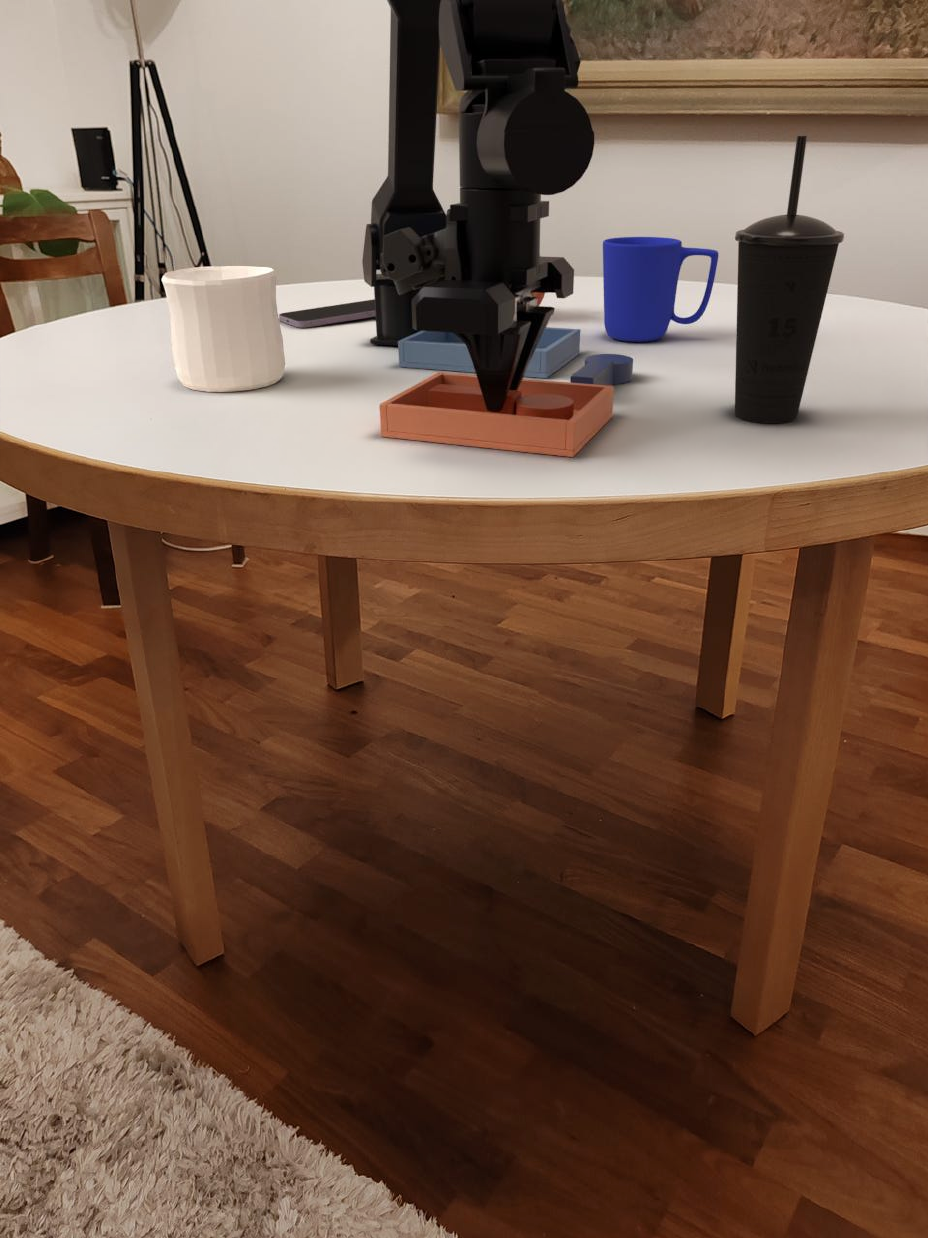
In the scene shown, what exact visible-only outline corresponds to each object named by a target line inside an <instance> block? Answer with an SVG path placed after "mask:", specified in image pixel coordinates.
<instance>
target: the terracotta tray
mask: <svg viewBox="0 0 928 1238" xmlns="http://www.w3.org/2000/svg"><path fill="white" fill-rule="evenodd" d="M439 384H444V385H456V386H468V387H480V385H479V382H478V379H477V375H476V374H469V373H468V374H467V373H457V372H444V371H438V372H436V373H435V374H433V375H430V376H429V377H426V378H425V379H424V380H422V381H420V382H418V383H416V384H414V385H412V386H411V387H408V388H407V389H405V390H403V391H401V392H400V393H397V394H396V395H394V396H392V397H391V398H388V399H387V400H385V401H383V402H381V403H379V419H380V420H379V421H380V434H381V435H380V436H381V437H383V438H391V439H392V438H393V439H399V440H400V439H401V440H410V441H419V442H429V443H439V444H445V445H446V444H447V445H456V446H466V447H473V448H485V449H494V450H502V451H511V452H512V451H513V452H520V453H521V452H522V453H531V454H540V455H551V456H559V457H567V458H574V457H575V456H576V455H577V454H578V453H579V452H580V451H581V450H582V449H583V448H584V446H586V445H587V444H588V442H589V441H590V440H592V439H593V438H594V436H596V434H597V433H598V432H599V431H600V430H601V429H602V428H603V427H604V426H605V425H606V424H607V423H608V422H609V421H610V420H611V419H612V418H613V411H614V410H613V409H614V407H613V406H614V392H615V386H614V385H611V386H606V385H594V384H582V383H570V381H569V382H568V381H555V380H543V379H542V380H541V379H531V378H523V379H522V381H521V383H520V386H519V388H518V390H517V391H521V397H524V396H529V395H537V394H552V395H560V396H565V397H568V398H571V399H572V400H573V401H574V414H573V417H572V418H571V419H570V420H569V421H568V420H563V419H552V418H541V417H531V416H520V415H509V414H499V413H488V412H477V411H467V410H456V409H445V408H435V407H430V399H429V390H430V389H432V388H433V387H435V386H437V385H439Z"/></svg>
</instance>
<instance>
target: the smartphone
mask: <svg viewBox="0 0 928 1238" xmlns="http://www.w3.org/2000/svg"><path fill="white" fill-rule="evenodd" d="M278 317H279V322H281V323H284V324H287V325H290V326H293V327H294V328H295V327H296V328H301V329H302V328H312V327H319V326H325V325H330V324H331V325H332V324H337V323H343V322H344V323H345V322H349V321H355V320H356V321H357V320H363V319H367V318H376V314H375V298H373V299H368V300H367V299H366V300H361V301H354V302H348V303H340V304H334V305H328V306H327V305H326V306H320V307H313V308H306V309H300V310H294V311H288V312H281V313H278Z"/></svg>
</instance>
